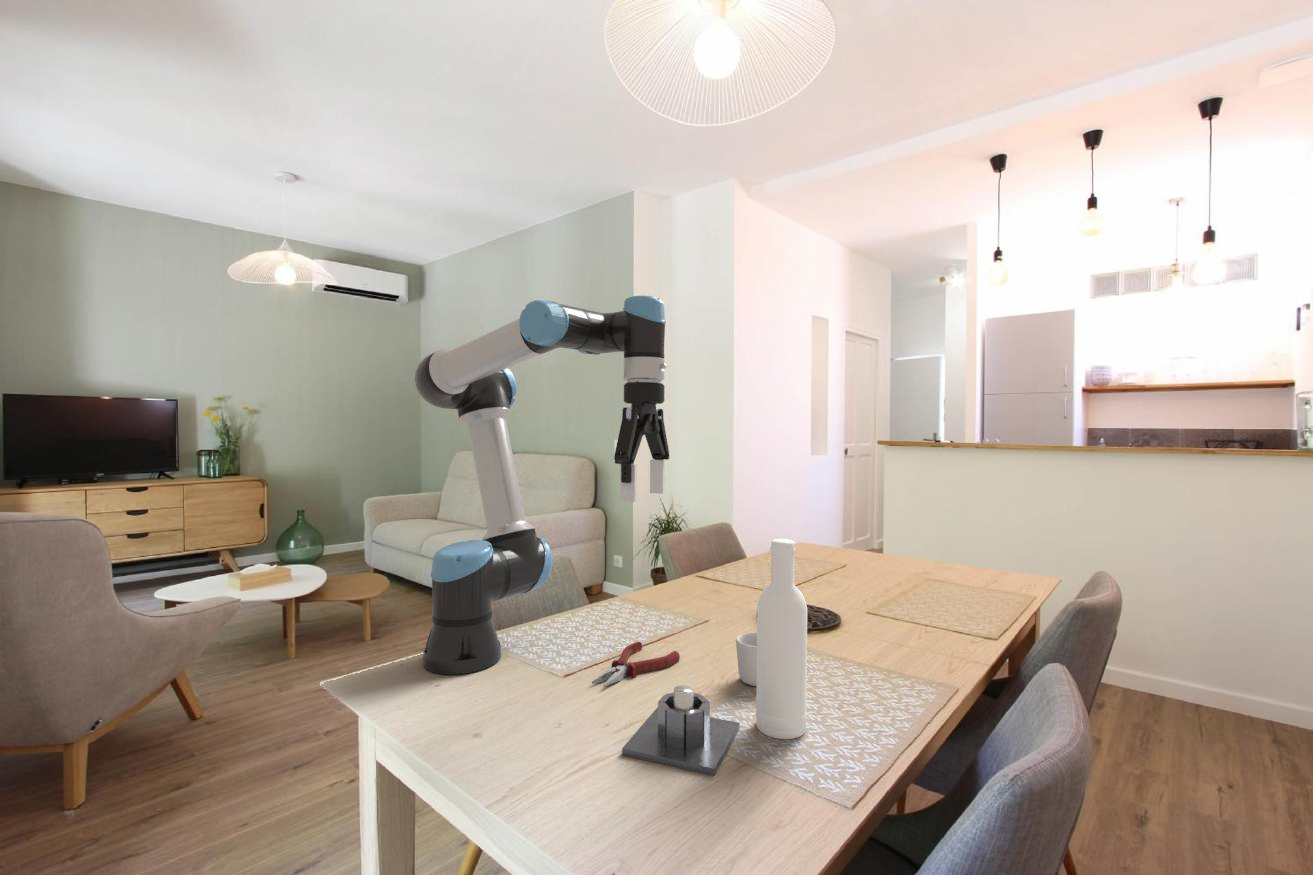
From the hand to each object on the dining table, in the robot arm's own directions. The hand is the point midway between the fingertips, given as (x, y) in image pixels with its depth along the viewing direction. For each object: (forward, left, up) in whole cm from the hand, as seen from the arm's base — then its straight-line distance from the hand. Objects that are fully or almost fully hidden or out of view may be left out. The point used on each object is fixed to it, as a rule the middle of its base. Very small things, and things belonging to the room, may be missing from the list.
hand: (643, 497), depth 114 cm
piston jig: (+14, -17, -35) cm, 41 cm away
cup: (+21, +9, -35) cm, 42 cm away
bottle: (+27, -7, -35) cm, 45 cm away
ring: (+14, -17, -34) cm, 40 cm away
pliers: (-6, +6, -36) cm, 36 cm away
